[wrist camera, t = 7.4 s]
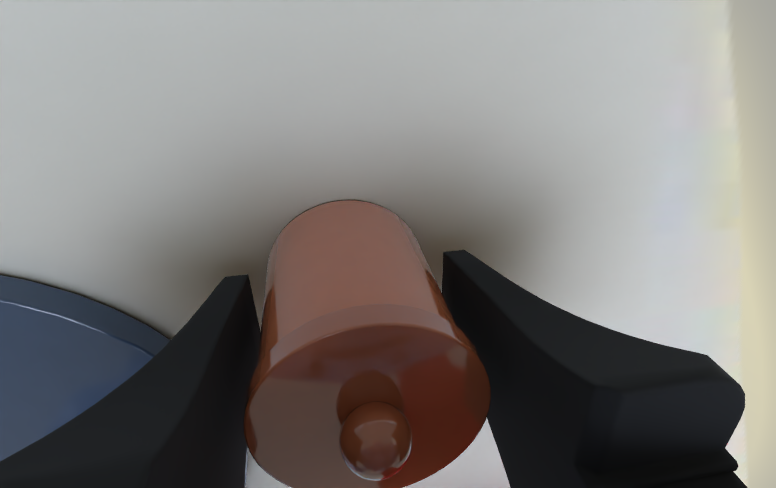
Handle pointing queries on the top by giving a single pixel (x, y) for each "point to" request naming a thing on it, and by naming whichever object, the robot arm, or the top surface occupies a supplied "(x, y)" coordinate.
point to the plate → (61, 358)
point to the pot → (359, 358)
